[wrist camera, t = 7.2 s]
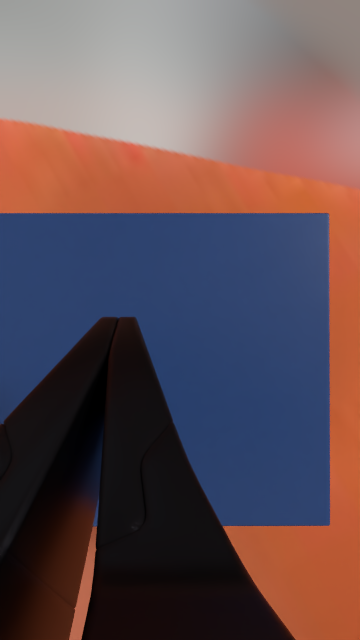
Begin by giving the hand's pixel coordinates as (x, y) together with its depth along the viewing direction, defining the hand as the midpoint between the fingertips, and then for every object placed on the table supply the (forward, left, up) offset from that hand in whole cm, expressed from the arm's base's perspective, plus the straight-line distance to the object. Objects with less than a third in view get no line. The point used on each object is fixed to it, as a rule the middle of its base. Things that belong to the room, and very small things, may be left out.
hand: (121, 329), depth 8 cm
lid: (-1, -1, -5) cm, 6 cm away
